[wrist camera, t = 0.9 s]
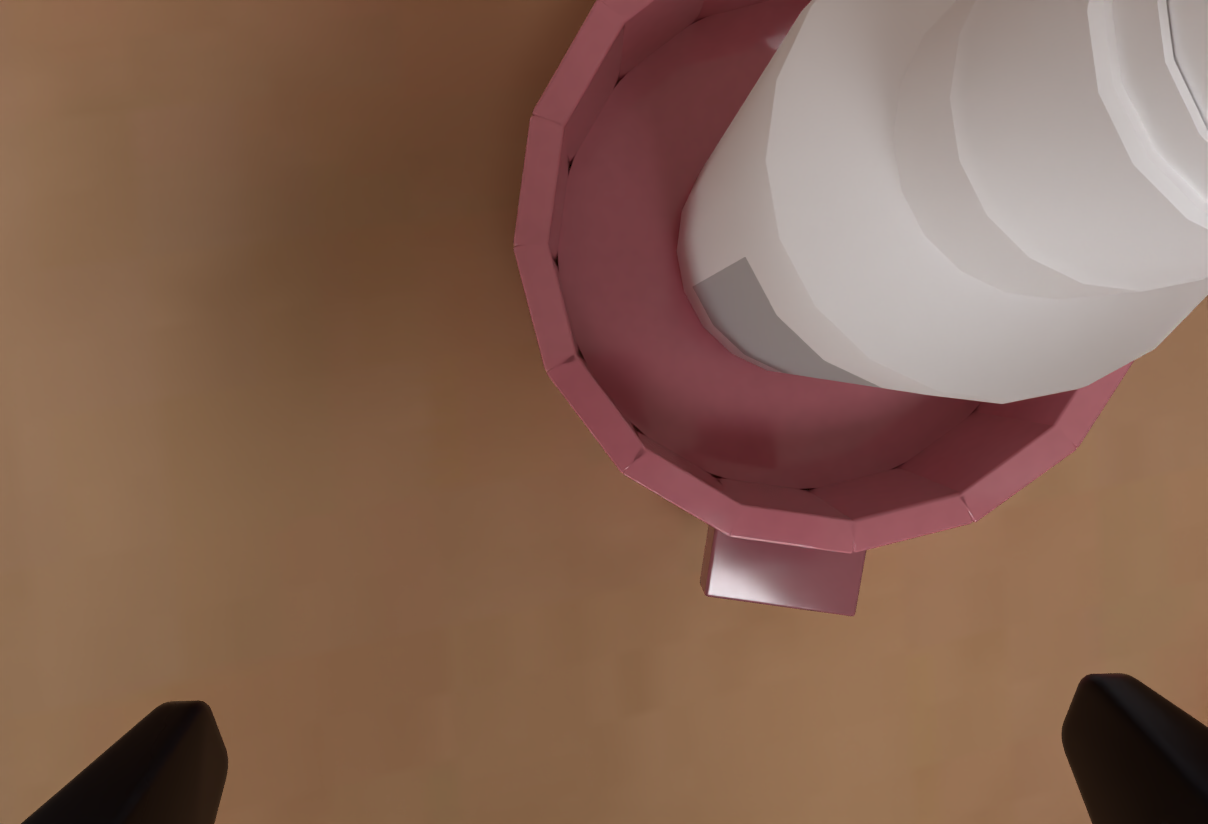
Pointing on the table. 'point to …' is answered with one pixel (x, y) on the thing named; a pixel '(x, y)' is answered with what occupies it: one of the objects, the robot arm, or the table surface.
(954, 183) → the spray bottle
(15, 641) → the table surface
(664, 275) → the pot
